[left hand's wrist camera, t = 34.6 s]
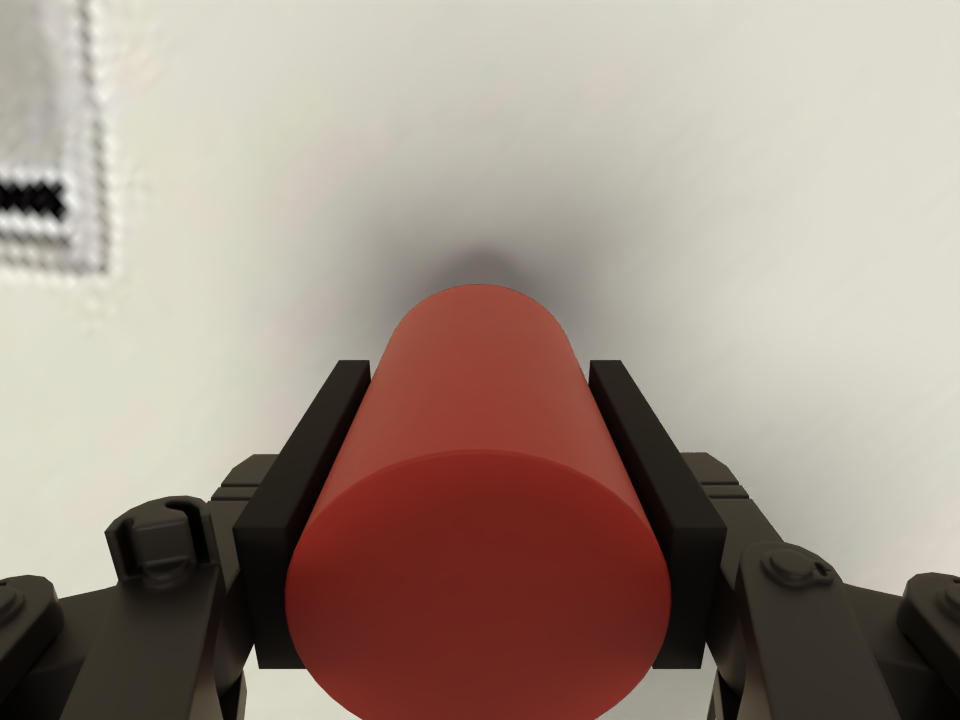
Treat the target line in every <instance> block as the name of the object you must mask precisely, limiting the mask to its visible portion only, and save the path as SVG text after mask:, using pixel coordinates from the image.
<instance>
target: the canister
mask: <svg viewBox="0 0 960 720" xmlns="http://www.w3.org/2000/svg"><path fill="white" fill-rule="evenodd" d="M671 604H672V602H671V583H670V578H669V573H668V569H667V564H666V561H665V559H664V556H663V554H662V551H661V549H660V546H659V544H658V542H657V539H656V537H655V535H654V533H653V530H652V528H651V526H650V524H649V521H648V519H647V517H646V515H645V512H644V510H643V508H642V506H641V503H640V501H639V499H638V497H637V494H636V492H635V490H634V487H633V485H632V483H631V481H630V478H629V476H628V474H627V472H626V469H625V467H624V465H623V463H622V460H621V458H620V456H619V454H618V451H617V449H616V447H615V445H614V442H613V440H612V438H611V436H610V433H609V431H608V429H607V426H606V424H605V422H604V420H603V417H602V415H601V413H600V411H599V408H598V406H597V404H596V402H595V399H594V397H593V395H592V393H591V390H590V388H589V386H588V384H587V381H586V379H585V377H584V375H583V372H582V370H581V368H580V365H579V363H578V361H577V359H576V356H575V354H574V352H573V350H572V347H571V345H570V343H569V341H568V338H567V336H566V334H565V333H564V331H563V329H562V328H561V326H560V325H559V323H558V322H557V321H556V319H555V318H554V317H553V316H552V315H551V314H550V313H549V312H548V311H547V310H546V309H545V308H544V307H543V306H541V305H540V304H539V303H537V302H536V301H534V300H533V299H531V298H529V297H527V296H526V295H524V294H522V293H519V292H517V291H514V290H511V289H508V288H504V287H500V286H495V285H486V284H472V285H464V286H457V287H453V288H450V289H447V290H443V291H441V292H439V293H437V294H434V295H432V296H430V297H429V298H427V299H425V300H424V301H422V302H421V303H419V304H418V305H417V306H416V307H414V308H413V309H412V310H411V311H410V312H409V313H408V314H407V315H406V316H405V317H404V318H403V319H402V321H401V322H400V323H399V325H398V326H397V328H396V329H395V331H394V333H393V335H392V337H391V338H390V340H389V343H388V345H387V347H386V349H385V352H384V354H383V356H382V358H381V360H380V363H379V365H378V367H377V369H376V371H375V374H374V376H373V378H372V380H371V382H370V385H369V387H368V389H367V391H366V393H365V396H364V398H363V400H362V402H361V404H360V407H359V409H358V411H357V413H356V416H355V418H354V420H353V422H352V424H351V427H350V429H349V431H348V433H347V435H346V438H345V440H344V442H343V444H342V446H341V449H340V451H339V453H338V455H337V457H336V460H335V462H334V464H333V466H332V468H331V471H330V473H329V475H328V477H327V480H326V482H325V484H324V486H323V488H322V491H321V493H320V495H319V497H318V499H317V502H316V504H315V506H314V508H313V510H312V513H311V515H310V517H309V519H308V521H307V524H306V526H305V528H304V530H303V532H302V535H301V537H300V539H299V541H298V543H297V546H296V548H295V550H294V553H293V556H292V559H291V562H290V565H289V568H288V571H287V578H286V584H285V614H286V619H287V624H288V629H289V633H290V636H291V638H292V641H293V644H294V647H295V649H296V651H297V653H298V655H299V657H300V659H301V660H302V662H303V664H304V666H305V668H306V669H307V670H308V672H309V673H310V674H311V675H312V677H313V678H314V679H315V681H316V682H317V683H318V684H319V685H320V686H321V687H322V688H323V689H324V690H325V691H326V693H327V694H328V695H329V696H330V697H331V698H333V699H334V700H335V701H336V702H338V703H339V704H340V705H341V706H343V707H344V708H345V709H346V710H348V711H349V712H351V713H353V714H354V715H356V716H357V717H359V718H361V719H362V720H594V719H596V718H598V717H599V716H601V715H602V714H604V713H605V712H607V711H608V710H610V709H611V708H613V707H614V706H615V705H616V704H618V703H619V702H620V701H621V700H622V699H623V698H624V697H626V696H627V695H628V694H629V693H630V692H631V691H632V690H633V689H634V688H635V687H636V685H637V684H638V683H639V682H640V681H641V680H642V679H643V678H644V676H645V675H646V673H647V672H648V670H649V669H650V667H651V666H652V664H653V663H654V661H655V659H656V657H657V655H658V653H659V651H660V649H661V647H662V645H663V642H664V639H665V636H666V633H667V629H668V626H669V619H670V612H671Z"/></svg>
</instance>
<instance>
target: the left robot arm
mask: <svg viewBox="0 0 960 720" xmlns="http://www.w3.org/2000/svg"><path fill="white" fill-rule="evenodd" d="M370 382H371V375H370V362H369V360H339V361H338V363H337V364H336V366H335V367H334V369H333V371H332V372H331V374H330V375H329V377H328V378H327V380H326V382H325V383H324V385H323V386H322V388H321V389H320V391H319V392H318V394H317V396H316V397H315V399H314V400H313V402H312V403H311V405H310V407H309V408H308V410H307V411H306V413H305V414H304V416H303V418H302V419H301V421H300V422H299V424H298V425H297V427H296V428H295V430H294V432H293V433H292V435H291V436H290V438H289V439H288V441H287V443H286V444H285V446H284V447H283V449H282V450H281V452H280V454H253V455H252V456H250V457H249V458H247V459H246V460H244V461H243V462H242V463H240V464H239V465H237V466H236V467H234V468H233V469H232V470H231V472H230V473H229V474H228V476H227V477H226V478H225V480H224V481H223V482H222V484H221V487H219V488H218V489H217V490H216V492H215V493H214V494H213V496H212V497H211V501H208V502H207V503H205V502H204V501H203V500H202V499H200V498H195V497H191V496H169V497H164V498H160V499H156V500H152V501H148V502H146V503H144V504H141V505H139V506H137V507H134V508H132V509H130V510H128V511H127V512H125V513H124V514H122V515H121V516H120V517H118V518H117V519H115V520H114V521H113V522H112V523H111V525H110V526H109V527H108V528H107V529H106V531H105V532H104V533H105V536H106V539H107V543H108V546H109V550H110V553H111V556H112V560H113V563H114V567H115V570H116V573H117V577H118V583H117V585H116V586H113V587H109V588H106V589H102V590H97V591H93V592H88V593H84V594H79V595H75V596H70V597H65V598H61V599H58V597H57V595H56V592H55V589H54V586H53V584H52V583H51V582H50V581H49V580H47V579H46V578H45V577H41V576H33V575H24V576H17V577H10V578H5V579H2V580H0V720H244V715H245V705H246V696H247V688H246V681H245V676H244V671H243V667H244V665H245V662H246V660H247V658H248V656H249V654H250V651H251V649H252V647H253V645H255V650H256V655H257V661H258V666H259V669H306V668H305V666H304V664H303V662H302V660H301V659H300V657H299V655H298V653H297V651H296V649H295V647H294V644H293V641H292V638H291V636H290V633H289V629H288V624H287V619H286V614H285V584H286V578H287V571H288V568H289V565H290V562H291V559H292V556H293V553H294V550H295V548H296V546H297V543H298V541H299V539H300V537H301V535H302V532H303V530H304V528H305V526H306V524H307V521H308V519H309V517H310V515H311V513H312V510H313V508H314V506H315V504H316V502H317V499H318V497H319V495H320V493H321V491H322V488H323V486H324V484H325V482H326V480H327V477H328V475H329V473H330V471H331V468H332V466H333V464H334V462H335V460H336V457H337V455H338V453H339V451H340V449H341V446H342V444H343V442H344V440H345V438H346V435H347V433H348V431H349V429H350V427H351V424H352V422H353V420H354V418H355V416H356V413H357V411H358V409H359V407H360V404H361V402H362V400H363V398H364V396H365V393H366V391H367V389H368V387H369V385H370ZM588 386H589V388H590V390H591V393H592V395H593V397H594V399H595V402H596V404H597V406H598V408H599V411H600V413H601V415H602V417H603V420H604V422H605V424H606V426H607V429H608V431H609V433H610V436H611V438H612V440H613V442H614V445H615V447H616V449H617V451H618V454H619V456H620V458H621V460H622V463H623V465H624V467H625V469H626V472H627V474H628V476H629V478H630V481H631V483H632V485H633V487H634V490H635V492H636V494H637V497H638V499H639V501H640V503H641V506H642V508H643V510H644V512H645V515H646V517H647V519H648V521H649V524H650V526H651V528H652V530H653V533H654V535H655V537H656V539H657V542H658V544H659V546H660V549H661V551H662V554H663V556H664V559H665V561H666V564H667V569H668V573H669V578H670V583H671V602H672V604H671V612H670V619H669V626H668V629H667V633H666V636H665V639H664V642H663V645H662V647H661V649H660V651H659V653H658V655H657V657H656V659H655V661H654V663H653V664H652V667H653V669H701V664H702V659H703V654H704V648H705V643H707V645H708V647H709V649H710V652H711V654H712V656H713V658H714V660H715V663H716V665H717V671H716V676H715V681H714V686H713V690H712V695H711V700H710V705H709V710H708V715H707V720H715V719H716V720H960V577H957V576H954V575H947V574H941V573H934V572H931V573H923V574H916V575H915V576H914V577H912V578H911V579H910V580H909V581H908V582H907V584H906V587H905V590H904V593H903V596H902V597H901V596H897V595H892V594H887V593H883V592H878V591H874V590H869V589H865V588H860V587H856V586H852V585H849V584H845V583H843V582H842V579H841V578H840V577H839V575H838V574H837V572H836V571H835V569H834V568H833V567H832V566H831V565H830V564H828V563H827V562H826V561H825V560H823V559H822V558H821V557H819V556H818V555H816V554H814V553H812V552H810V551H808V550H806V549H804V548H802V547H800V546H797V545H793V544H789V543H786V542H784V541H783V540H782V538H781V537H780V536H779V535H778V533H777V532H776V531H775V529H774V528H773V527H772V525H771V524H770V523H769V521H768V520H767V519H766V517H765V516H764V515H763V513H762V512H761V511H760V509H759V508H758V507H757V505H756V504H755V503H754V502H753V500H752V499H749V495H748V494H747V492H746V491H745V490H744V488H743V487H742V486H741V485H739V482H738V480H737V479H736V478H735V476H734V475H733V474H732V472H731V471H730V470H729V468H728V467H727V466H726V465H724V464H723V463H721V462H720V461H718V460H717V459H715V458H714V457H712V456H711V455H709V454H708V453H679V451H678V449H677V448H676V446H675V445H674V443H673V442H672V440H671V438H670V437H669V435H668V434H667V432H666V431H665V429H664V427H663V426H662V424H661V423H660V421H659V420H658V418H657V417H656V415H655V413H654V412H653V410H652V409H651V407H650V406H649V404H648V402H647V401H646V399H645V398H644V396H643V395H642V393H641V391H640V390H639V388H638V387H637V385H636V384H635V382H634V381H633V379H632V377H631V376H630V374H629V373H628V371H627V370H626V368H625V366H624V365H623V363H622V362H621V360H590V371H589V384H588Z"/></svg>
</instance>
